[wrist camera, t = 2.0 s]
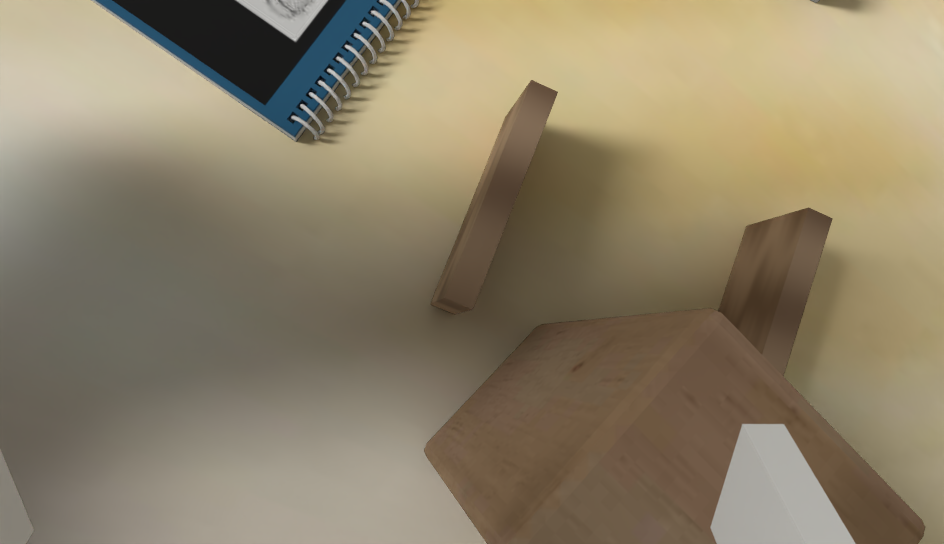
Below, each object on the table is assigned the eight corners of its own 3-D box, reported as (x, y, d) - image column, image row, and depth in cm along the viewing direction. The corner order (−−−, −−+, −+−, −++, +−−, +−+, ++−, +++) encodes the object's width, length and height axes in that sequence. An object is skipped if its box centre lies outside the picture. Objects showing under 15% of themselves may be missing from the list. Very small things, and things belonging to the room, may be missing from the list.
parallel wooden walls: (707, 417, 42) (766, 430, 36) (430, 304, 40) (444, 297, 34) (767, 235, 44) (832, 218, 38) (505, 117, 42) (531, 79, 36)
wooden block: (540, 320, 41) (718, 300, 21) (659, 440, 41) (939, 528, 22) (419, 449, 39) (492, 556, 19) (545, 573, 39) (740, 800, 20)
